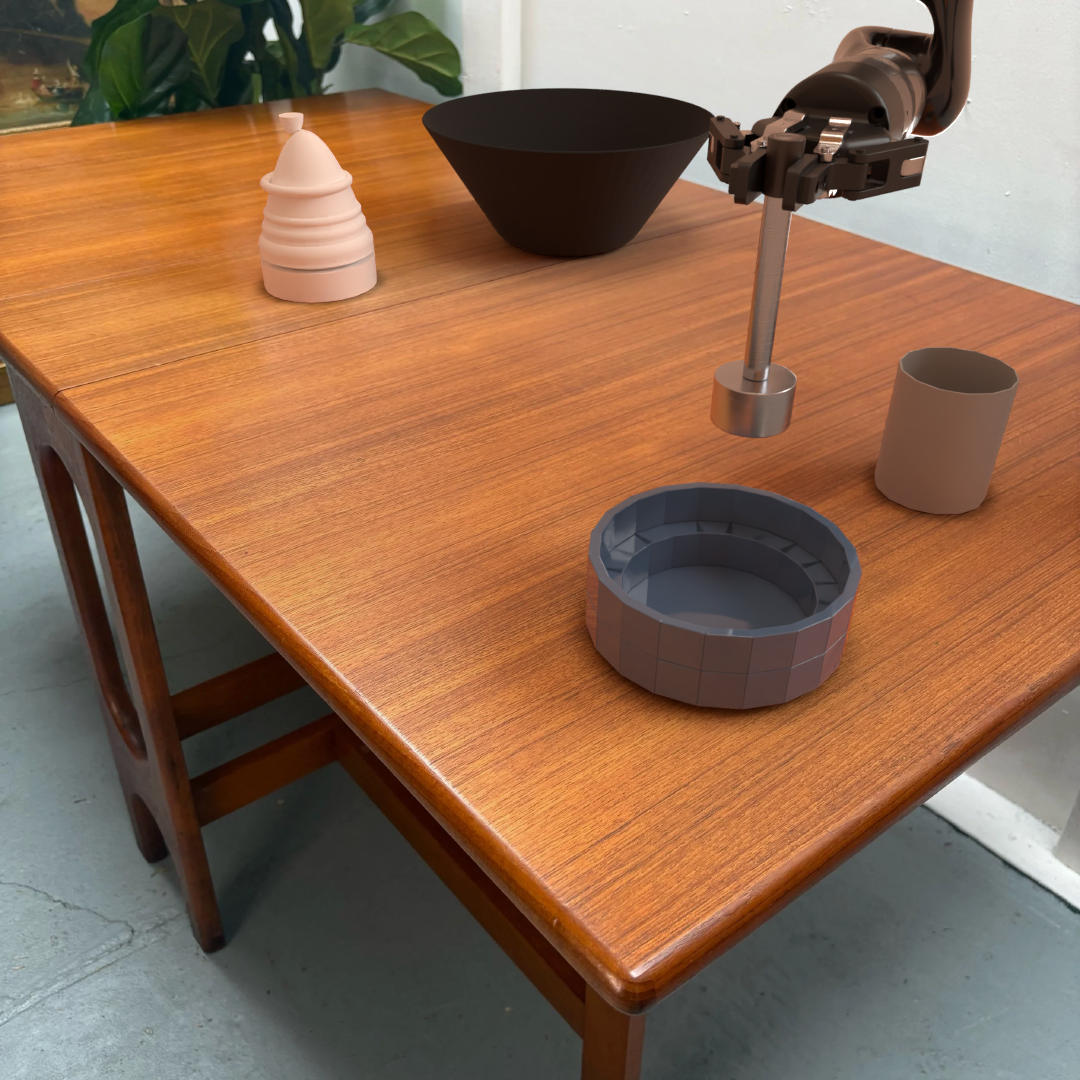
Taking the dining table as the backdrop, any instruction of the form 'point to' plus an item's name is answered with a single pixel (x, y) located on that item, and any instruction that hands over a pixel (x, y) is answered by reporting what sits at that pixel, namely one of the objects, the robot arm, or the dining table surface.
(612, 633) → the bowl
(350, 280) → the honey pot
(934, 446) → the cup
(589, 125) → the bowl
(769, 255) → the metal rod on disc
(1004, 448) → the dining table surface
